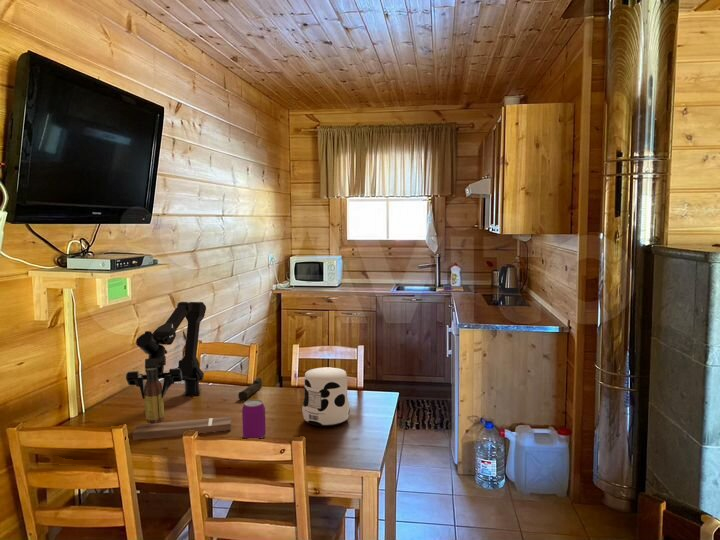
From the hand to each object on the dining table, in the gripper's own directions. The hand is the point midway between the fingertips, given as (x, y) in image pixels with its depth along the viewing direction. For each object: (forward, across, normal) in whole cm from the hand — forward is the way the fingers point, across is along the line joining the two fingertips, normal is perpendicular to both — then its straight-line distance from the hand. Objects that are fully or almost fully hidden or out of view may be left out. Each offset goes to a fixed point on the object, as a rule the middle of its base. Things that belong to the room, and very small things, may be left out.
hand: (152, 398), depth 186 cm
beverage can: (+20, +35, -5) cm, 41 cm away
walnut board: (+13, +11, +2) cm, 17 cm away
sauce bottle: (+6, 0, +8) cm, 9 cm away
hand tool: (-12, +34, +28) cm, 46 cm away
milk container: (+15, +61, +1) cm, 63 cm away
